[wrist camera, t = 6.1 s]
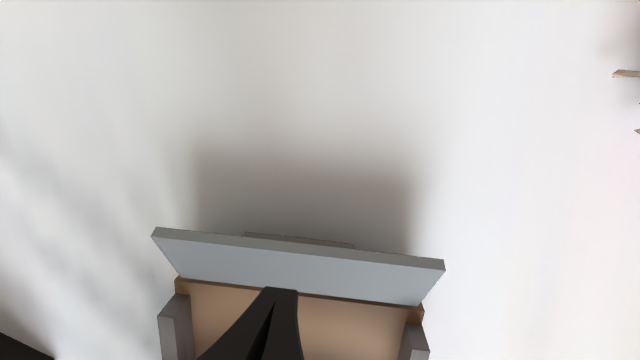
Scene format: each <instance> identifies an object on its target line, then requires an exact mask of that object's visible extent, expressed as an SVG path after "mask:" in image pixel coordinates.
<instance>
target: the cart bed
mask: <svg viewBox="0 0 640 360" xmlns="http://www.w3.org/2000/svg"><path fill="white" fill-rule="evenodd" d="M174 283H175V294H174V296H173V297H172V298H171V299H170V301H169V302H168V303H167V304H166V306H165V307H164V308H163V309H162V311H161V312H160V313H159V314H158V316H157V320H158V328H159V336H160V344H161V352H162V360H195V359H197V358H198V357H199V356H200V355H201V354H202V353H204V352H205V351H206V350H207V349H208V348H209V347H210V346H211V345H212V344H213V343H215V342H216V341H217V340H218V339H219V338H220V337H221V336H222V335H223V334H224V333H225V332H226V331H227V330H228V329H229V328H230V327H231V326H232V325H233V323H234V322H235V321H236V320H237V319H238V318H239V317H240V316H241V315H242V314H243V312H244V311H245V310H246V309H247V308H248V307H249V305H250V304H251V303H252V302H253V301H254V299H255V298H256V297H257V296H258V294H259V293H260V292H261V290H262V289H263V288H262V287H254V286H246V285H238V284H230V283H222V282H213V281H205V280H197V279H189V278H181V276H180V275H179V276H178V277H177V278H176V279H175V280H174ZM424 312H425V311H424V308H423V305H422V302H420V304H419V305H418V306H409V305H401V304H393V303H385V302H377V301H369V300H360V299H352V298H344V297H336V296H328V295H320V294H311V293H303V292H299V297H298V311H297V317H298V326H299V334H300V340H301V346H302V350H303V355H304V360H428V358H429V354H430V349H429V346H428V343H427V340H426V337H425V334H424V330H423V327H422V320H423V316H424Z"/></svg>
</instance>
